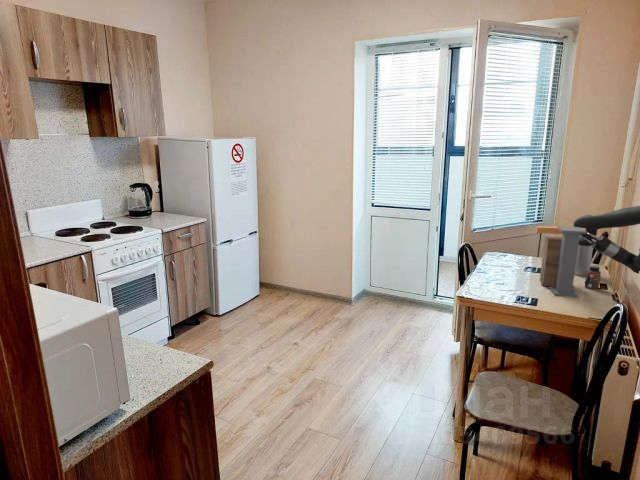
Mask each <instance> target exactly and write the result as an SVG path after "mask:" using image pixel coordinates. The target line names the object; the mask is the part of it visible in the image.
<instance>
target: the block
mask: <svg viewBox="0 0 640 480" xmlns="http://www.w3.org/2000/svg"><path fill="white" fill-rule="evenodd" d="M582 229H584V230H585V231H586V229H585V228H582ZM535 231H536V234H548V235H549V234H551V235H552V234H553V235H555V234H556V235H562V234H563V233H562V232H561V231H560V230H559V229H558V226H543V225H542V226H540V225H538V226H537V225H536V228H535Z"/></svg>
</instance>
